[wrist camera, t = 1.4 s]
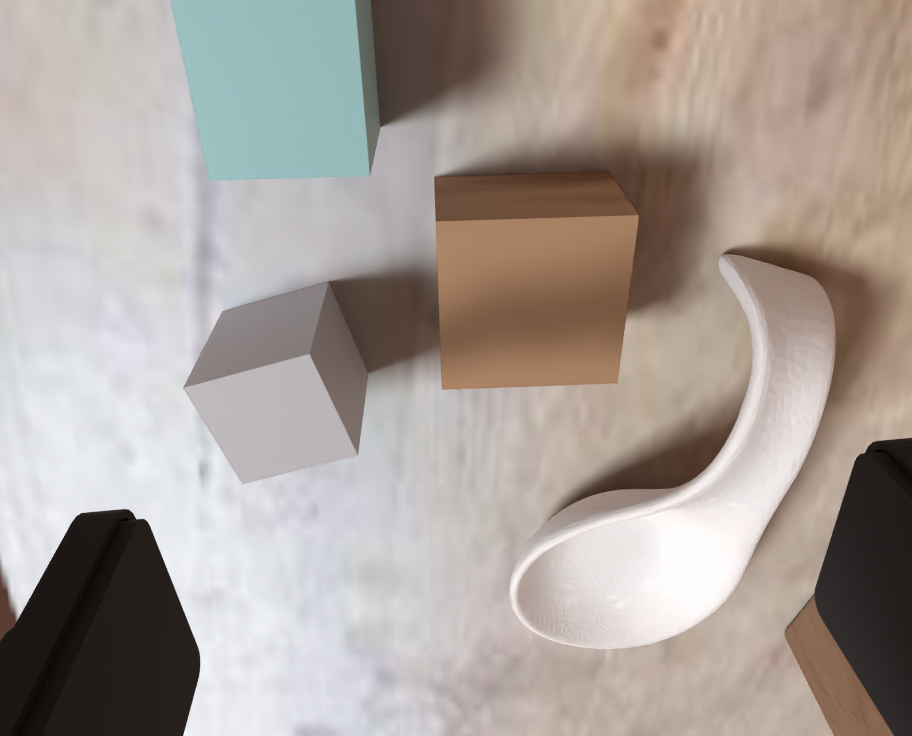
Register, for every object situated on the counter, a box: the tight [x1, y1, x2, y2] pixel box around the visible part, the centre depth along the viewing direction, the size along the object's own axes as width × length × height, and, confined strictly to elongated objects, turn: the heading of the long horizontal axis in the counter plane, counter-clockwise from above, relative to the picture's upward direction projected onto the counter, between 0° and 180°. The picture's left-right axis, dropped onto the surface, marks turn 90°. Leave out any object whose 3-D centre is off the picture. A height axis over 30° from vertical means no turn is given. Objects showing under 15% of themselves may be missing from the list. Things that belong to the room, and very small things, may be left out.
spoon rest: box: [509, 254, 836, 649], centre depth 34 cm, size 24×12×7 cm, turn 164°
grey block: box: [183, 281, 368, 484], centre depth 30 cm, size 5×5×6 cm
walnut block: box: [434, 172, 639, 390], centre depth 28 cm, size 7×7×5 cm
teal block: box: [170, 0, 380, 181], centre depth 23 cm, size 5×5×6 cm
